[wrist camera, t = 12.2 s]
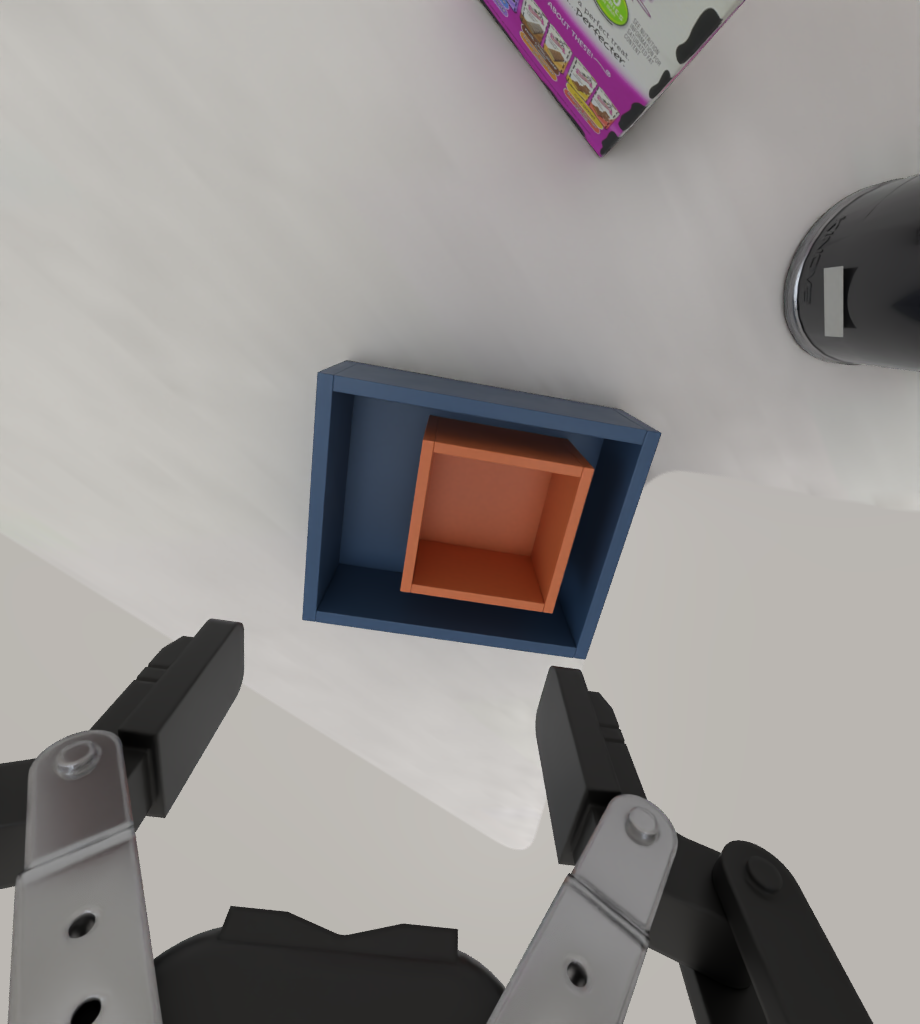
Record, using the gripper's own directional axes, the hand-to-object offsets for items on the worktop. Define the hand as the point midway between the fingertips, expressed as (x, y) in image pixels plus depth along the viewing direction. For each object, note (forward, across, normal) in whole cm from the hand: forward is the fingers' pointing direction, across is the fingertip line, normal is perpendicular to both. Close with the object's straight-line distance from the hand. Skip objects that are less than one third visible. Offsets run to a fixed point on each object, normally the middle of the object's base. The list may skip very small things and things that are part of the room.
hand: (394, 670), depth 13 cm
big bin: (+21, -2, +2) cm, 21 cm away
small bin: (+20, -4, +2) cm, 21 cm away
